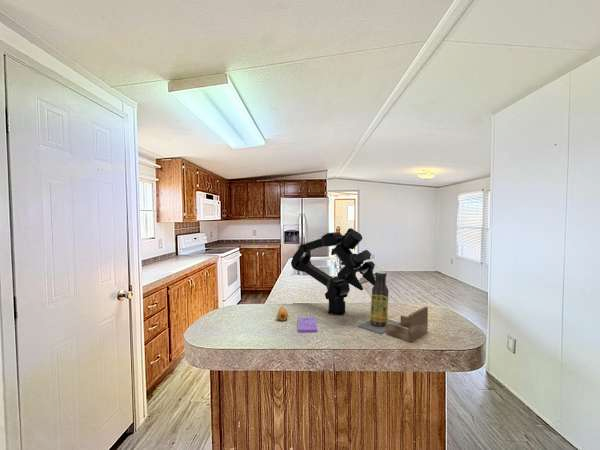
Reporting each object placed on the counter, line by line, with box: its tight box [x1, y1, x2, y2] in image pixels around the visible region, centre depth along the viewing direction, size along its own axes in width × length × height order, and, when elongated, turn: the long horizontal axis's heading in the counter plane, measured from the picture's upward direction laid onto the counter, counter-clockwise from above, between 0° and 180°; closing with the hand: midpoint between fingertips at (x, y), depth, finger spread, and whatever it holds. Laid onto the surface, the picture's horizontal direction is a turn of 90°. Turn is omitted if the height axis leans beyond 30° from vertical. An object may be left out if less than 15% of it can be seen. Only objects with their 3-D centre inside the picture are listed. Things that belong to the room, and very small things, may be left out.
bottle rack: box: [385, 306, 429, 343], centre depth 107 cm, size 10×12×9 cm
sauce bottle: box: [370, 270, 389, 326], centre depth 114 cm, size 7×6×20 cm
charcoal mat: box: [357, 318, 401, 335], centre depth 115 cm, size 10×14×1 cm
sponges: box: [297, 316, 318, 334], centre depth 115 cm, size 7×13×2 cm, turn 0°
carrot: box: [276, 305, 289, 321], centre depth 129 cm, size 20×4×4 cm, turn 5°
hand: (369, 287), depth 117 cm, fingers open, 9 cm apart
